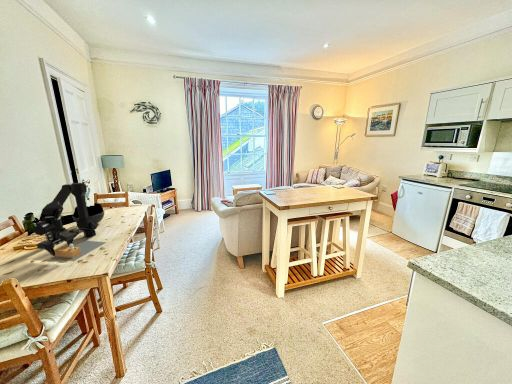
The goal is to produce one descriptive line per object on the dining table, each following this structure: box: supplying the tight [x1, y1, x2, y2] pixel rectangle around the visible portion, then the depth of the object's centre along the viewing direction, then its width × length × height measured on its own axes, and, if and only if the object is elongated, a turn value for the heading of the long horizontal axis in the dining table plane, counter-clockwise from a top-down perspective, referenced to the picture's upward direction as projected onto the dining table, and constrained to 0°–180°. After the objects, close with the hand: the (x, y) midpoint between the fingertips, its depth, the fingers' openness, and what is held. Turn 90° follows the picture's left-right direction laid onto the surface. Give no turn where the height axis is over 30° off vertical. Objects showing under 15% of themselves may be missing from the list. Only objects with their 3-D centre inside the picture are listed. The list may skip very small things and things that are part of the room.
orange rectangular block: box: [54, 245, 81, 258], centre depth 123 cm, size 12×5×4 cm, turn 81°
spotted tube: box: [44, 217, 65, 246], centre depth 136 cm, size 8×8×20 cm
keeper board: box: [50, 240, 107, 262], centre depth 128 cm, size 16×22×9 cm
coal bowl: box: [72, 202, 105, 225], centre depth 167 cm, size 20×20×19 cm
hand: (62, 251), depth 124 cm, fingers open, 9 cm apart
